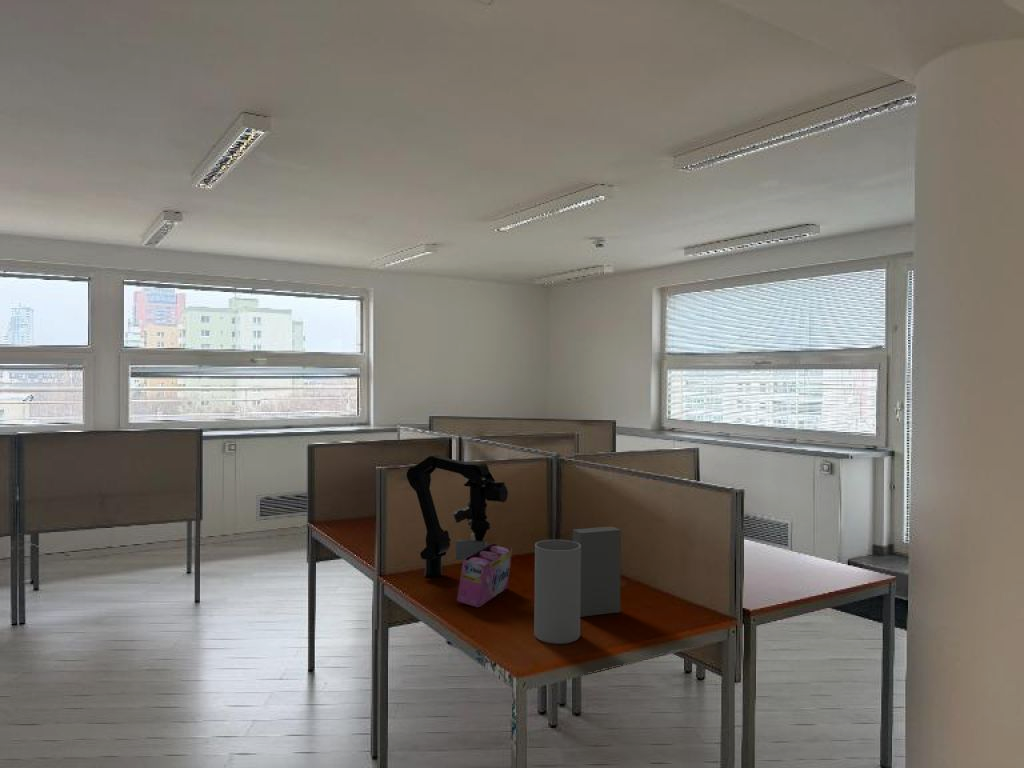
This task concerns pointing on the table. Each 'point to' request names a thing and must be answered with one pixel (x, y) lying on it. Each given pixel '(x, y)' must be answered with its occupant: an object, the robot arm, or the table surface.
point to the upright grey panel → (599, 570)
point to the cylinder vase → (557, 591)
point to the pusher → (468, 547)
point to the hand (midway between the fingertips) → (477, 545)
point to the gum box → (484, 575)
